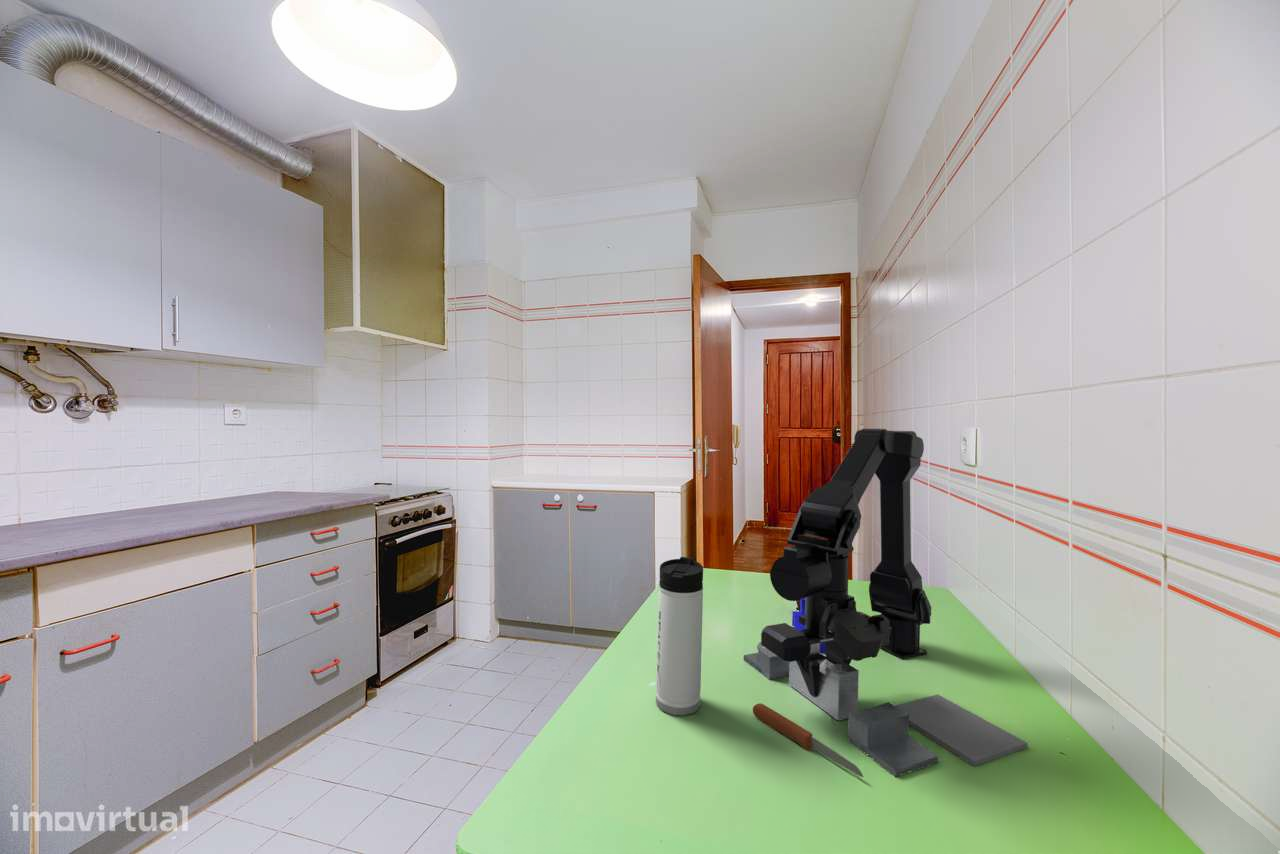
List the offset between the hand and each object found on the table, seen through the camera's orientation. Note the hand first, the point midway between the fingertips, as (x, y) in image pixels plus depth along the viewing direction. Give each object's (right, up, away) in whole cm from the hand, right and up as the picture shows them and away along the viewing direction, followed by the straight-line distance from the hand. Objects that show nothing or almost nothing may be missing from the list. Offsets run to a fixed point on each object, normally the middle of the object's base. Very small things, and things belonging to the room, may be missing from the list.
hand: (823, 693), depth 71 cm
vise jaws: (0, -1, 0) cm, 1 cm away
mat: (+15, -2, -6) cm, 16 cm away
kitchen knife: (-6, -1, -10) cm, 12 cm away
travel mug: (-21, -1, -1) cm, 21 cm away
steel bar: (0, -1, +1) cm, 1 cm away
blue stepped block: (+5, -2, +22) cm, 23 cm away
